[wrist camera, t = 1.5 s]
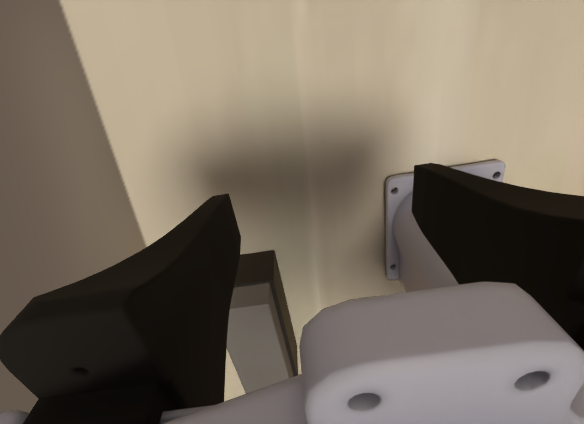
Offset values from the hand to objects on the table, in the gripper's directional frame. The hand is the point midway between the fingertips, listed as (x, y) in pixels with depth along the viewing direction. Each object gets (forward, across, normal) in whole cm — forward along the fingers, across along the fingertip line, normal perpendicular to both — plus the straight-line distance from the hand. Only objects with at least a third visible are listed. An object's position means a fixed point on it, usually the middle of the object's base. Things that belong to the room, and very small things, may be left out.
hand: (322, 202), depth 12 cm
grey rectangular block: (+9, +6, +15) cm, 18 cm away
